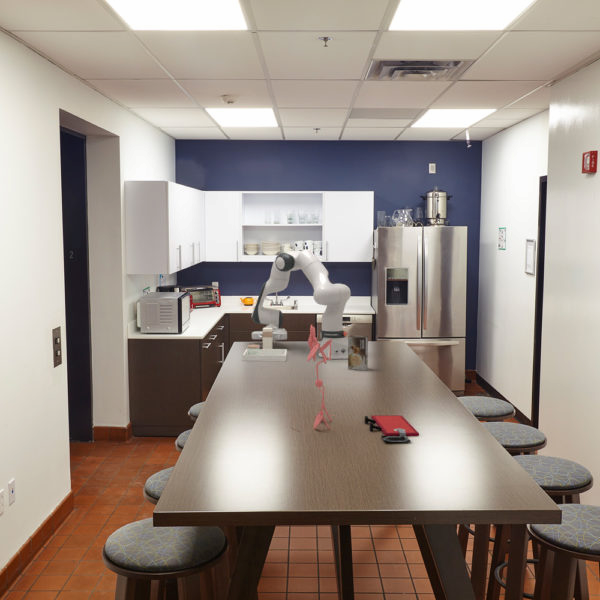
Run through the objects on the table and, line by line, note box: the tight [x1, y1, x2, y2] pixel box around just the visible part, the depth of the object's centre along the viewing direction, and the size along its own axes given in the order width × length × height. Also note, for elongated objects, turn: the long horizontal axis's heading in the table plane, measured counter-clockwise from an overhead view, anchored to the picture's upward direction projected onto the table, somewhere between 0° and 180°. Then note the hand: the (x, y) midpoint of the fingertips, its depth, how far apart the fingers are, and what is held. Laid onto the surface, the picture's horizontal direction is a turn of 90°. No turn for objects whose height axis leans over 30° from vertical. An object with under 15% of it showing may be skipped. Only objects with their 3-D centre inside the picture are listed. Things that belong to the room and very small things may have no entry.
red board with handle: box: [364, 414, 420, 443], centre depth 224 cm, size 30×3×15 cm
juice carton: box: [262, 327, 273, 349], centre depth 360 cm, size 5×5×14 cm
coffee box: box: [347, 334, 369, 371], centre depth 323 cm, size 9×6×16 cm
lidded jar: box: [247, 343, 261, 355], centre depth 342 cm, size 6×6×7 cm
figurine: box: [291, 324, 336, 433], centre depth 228 cm, size 15×26×35 cm, turn 173°
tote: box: [242, 348, 288, 362], centre depth 344 cm, size 22×18×4 cm
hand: (268, 337), depth 367 cm, fingers open, 8 cm apart
